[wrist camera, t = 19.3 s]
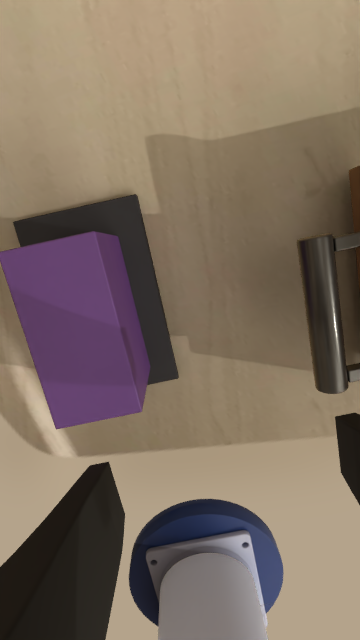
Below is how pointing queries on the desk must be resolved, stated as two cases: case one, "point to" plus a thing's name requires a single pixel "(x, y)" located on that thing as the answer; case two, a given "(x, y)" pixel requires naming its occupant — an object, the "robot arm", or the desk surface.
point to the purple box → (80, 326)
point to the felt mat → (129, 227)
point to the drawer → (329, 299)
